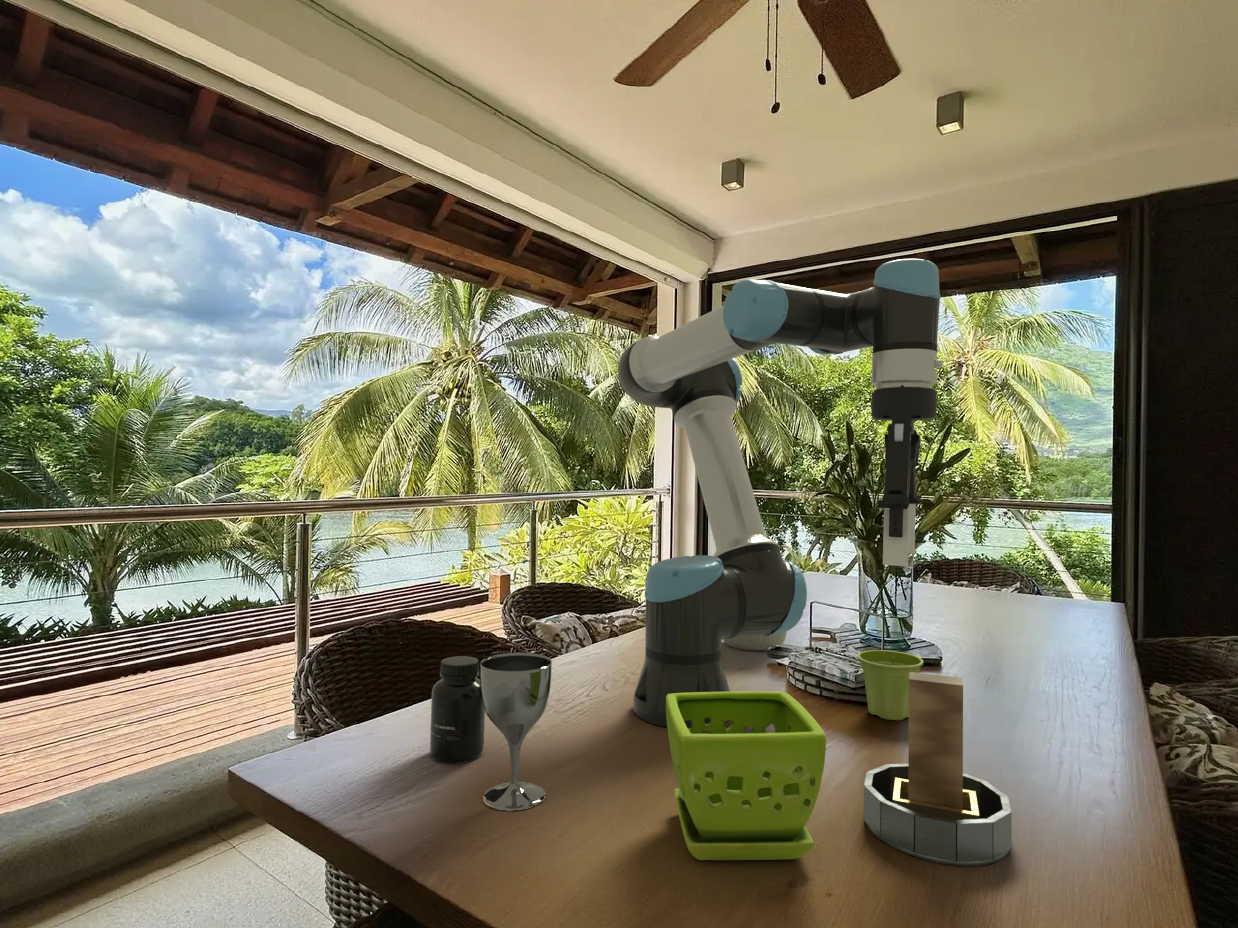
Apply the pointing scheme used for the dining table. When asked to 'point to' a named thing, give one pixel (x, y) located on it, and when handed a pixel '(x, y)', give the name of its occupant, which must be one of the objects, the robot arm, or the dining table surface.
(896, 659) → the plant pot
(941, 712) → the wooden slab
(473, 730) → the supplement bottle
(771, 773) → the flower pot
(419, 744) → the dining table surface
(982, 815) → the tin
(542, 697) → the wine glass
